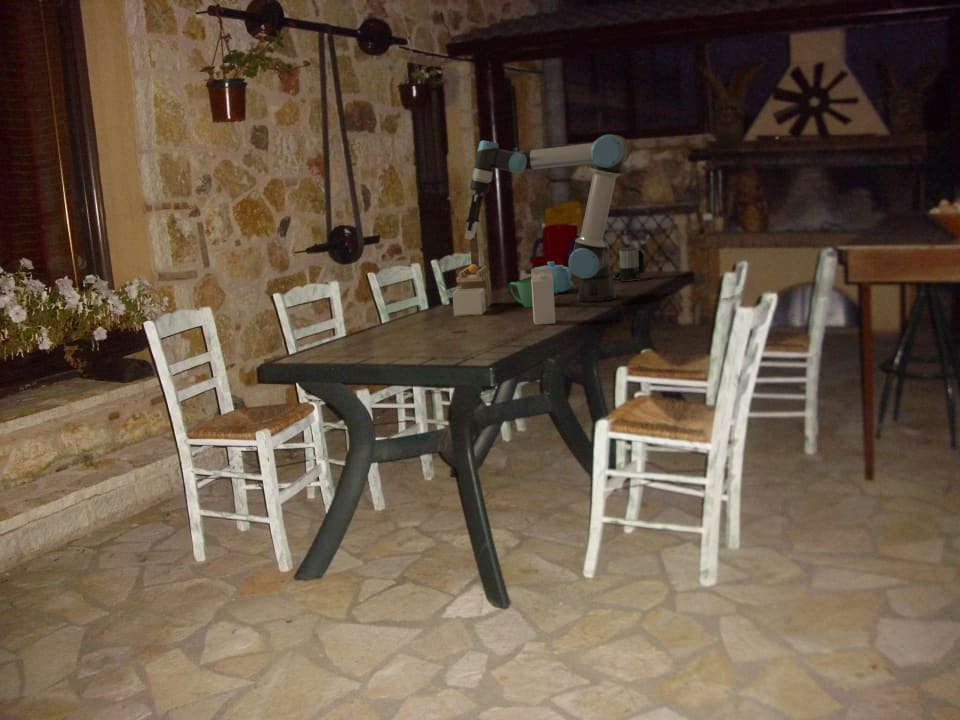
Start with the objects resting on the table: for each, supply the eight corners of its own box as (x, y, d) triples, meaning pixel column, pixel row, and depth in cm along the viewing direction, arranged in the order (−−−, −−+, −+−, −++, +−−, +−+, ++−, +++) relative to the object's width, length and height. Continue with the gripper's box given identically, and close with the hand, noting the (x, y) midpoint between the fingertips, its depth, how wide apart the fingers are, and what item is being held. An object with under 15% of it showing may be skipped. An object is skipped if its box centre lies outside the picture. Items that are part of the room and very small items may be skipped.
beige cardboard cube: (458, 312, 376) (457, 289, 374) (485, 310, 374) (484, 287, 372) (454, 316, 365) (452, 293, 363) (482, 315, 363) (480, 291, 362)
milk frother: (635, 282, 430) (634, 249, 427) (603, 282, 438) (601, 249, 435) (647, 278, 442) (645, 245, 439) (615, 278, 450) (613, 246, 447)
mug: (547, 304, 378) (546, 279, 376) (534, 308, 370) (532, 282, 369) (517, 303, 387) (515, 279, 385) (503, 307, 379) (501, 282, 377)
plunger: (470, 271, 390) (467, 230, 387) (482, 271, 389) (479, 229, 386) (468, 272, 386) (465, 231, 383) (481, 272, 385) (478, 230, 382)
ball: (480, 273, 381) (479, 263, 381) (472, 275, 379) (471, 265, 379) (475, 273, 385) (474, 263, 384) (466, 274, 383) (466, 264, 382)
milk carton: (533, 322, 338) (530, 268, 334) (553, 320, 338) (550, 266, 334) (535, 325, 331) (531, 270, 327) (555, 323, 331) (552, 268, 327)
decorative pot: (536, 297, 405) (535, 264, 402) (530, 292, 420) (528, 261, 418) (574, 293, 406) (573, 261, 403) (567, 289, 422) (565, 258, 419)
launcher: (467, 304, 395) (464, 267, 392) (491, 303, 394) (488, 265, 391) (458, 312, 374) (455, 273, 371) (484, 311, 372) (481, 271, 369)
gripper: (475, 178, 385) (463, 234, 390) (468, 179, 365) (456, 238, 370) (493, 182, 384) (481, 238, 389) (487, 183, 364) (474, 242, 369)
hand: (469, 238), depth 380 cm, fingers open, 7 cm apart
